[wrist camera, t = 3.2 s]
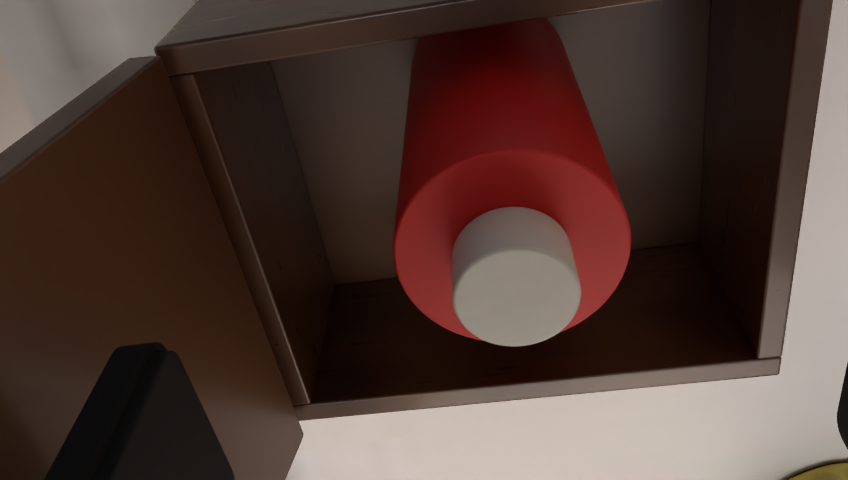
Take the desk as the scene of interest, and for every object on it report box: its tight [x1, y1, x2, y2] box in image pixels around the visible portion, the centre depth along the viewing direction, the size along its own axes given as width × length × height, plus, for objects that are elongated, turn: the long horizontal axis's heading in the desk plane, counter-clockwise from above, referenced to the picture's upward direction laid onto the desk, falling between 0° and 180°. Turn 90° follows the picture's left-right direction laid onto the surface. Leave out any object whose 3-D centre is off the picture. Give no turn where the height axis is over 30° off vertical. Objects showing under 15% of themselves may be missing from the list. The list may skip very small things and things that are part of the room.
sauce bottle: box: [393, 18, 631, 346], centre depth 15 cm, size 4×4×9 cm
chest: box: [154, 0, 833, 421], centre depth 18 cm, size 12×10×6 cm
